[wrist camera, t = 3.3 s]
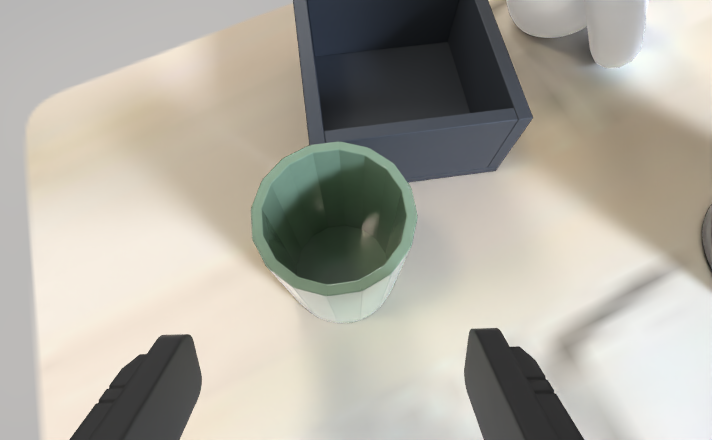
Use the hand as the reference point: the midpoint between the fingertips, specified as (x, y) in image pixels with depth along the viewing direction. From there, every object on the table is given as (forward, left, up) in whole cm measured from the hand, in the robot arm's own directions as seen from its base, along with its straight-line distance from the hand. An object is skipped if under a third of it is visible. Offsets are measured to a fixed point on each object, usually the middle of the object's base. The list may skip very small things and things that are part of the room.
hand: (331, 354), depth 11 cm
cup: (-1, -5, -10) cm, 11 cm away
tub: (-6, -16, -10) cm, 20 cm away
